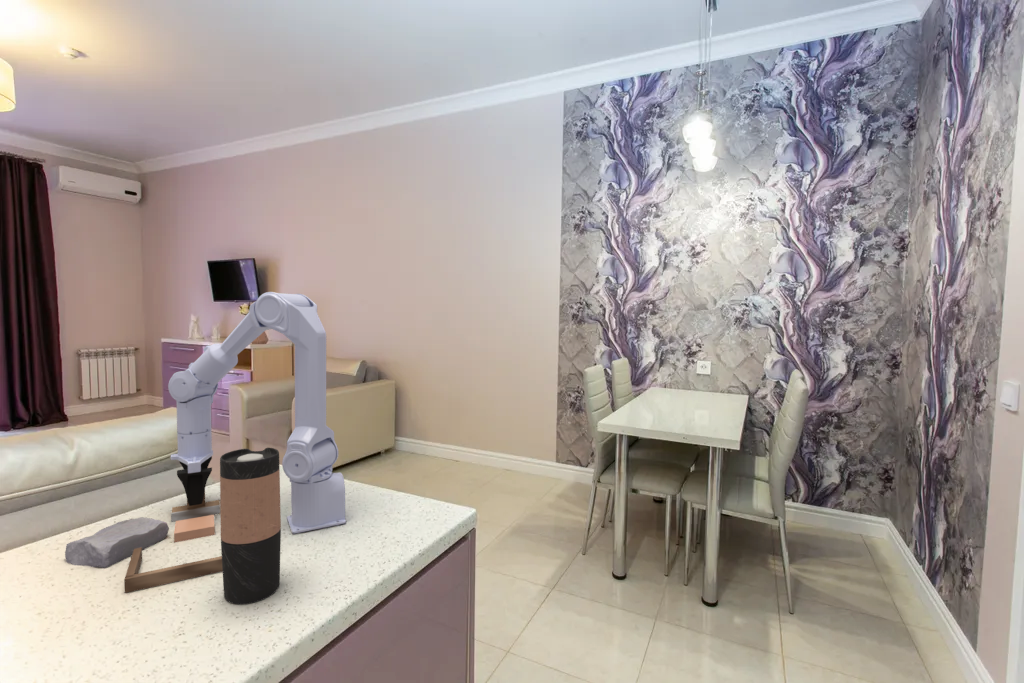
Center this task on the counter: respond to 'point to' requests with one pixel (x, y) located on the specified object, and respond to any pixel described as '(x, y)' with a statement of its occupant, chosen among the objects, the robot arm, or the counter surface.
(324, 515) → the robot arm
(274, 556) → the travel mug
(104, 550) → the stone block
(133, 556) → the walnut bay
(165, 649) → the counter surface
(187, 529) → the terracotta tile
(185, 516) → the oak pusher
